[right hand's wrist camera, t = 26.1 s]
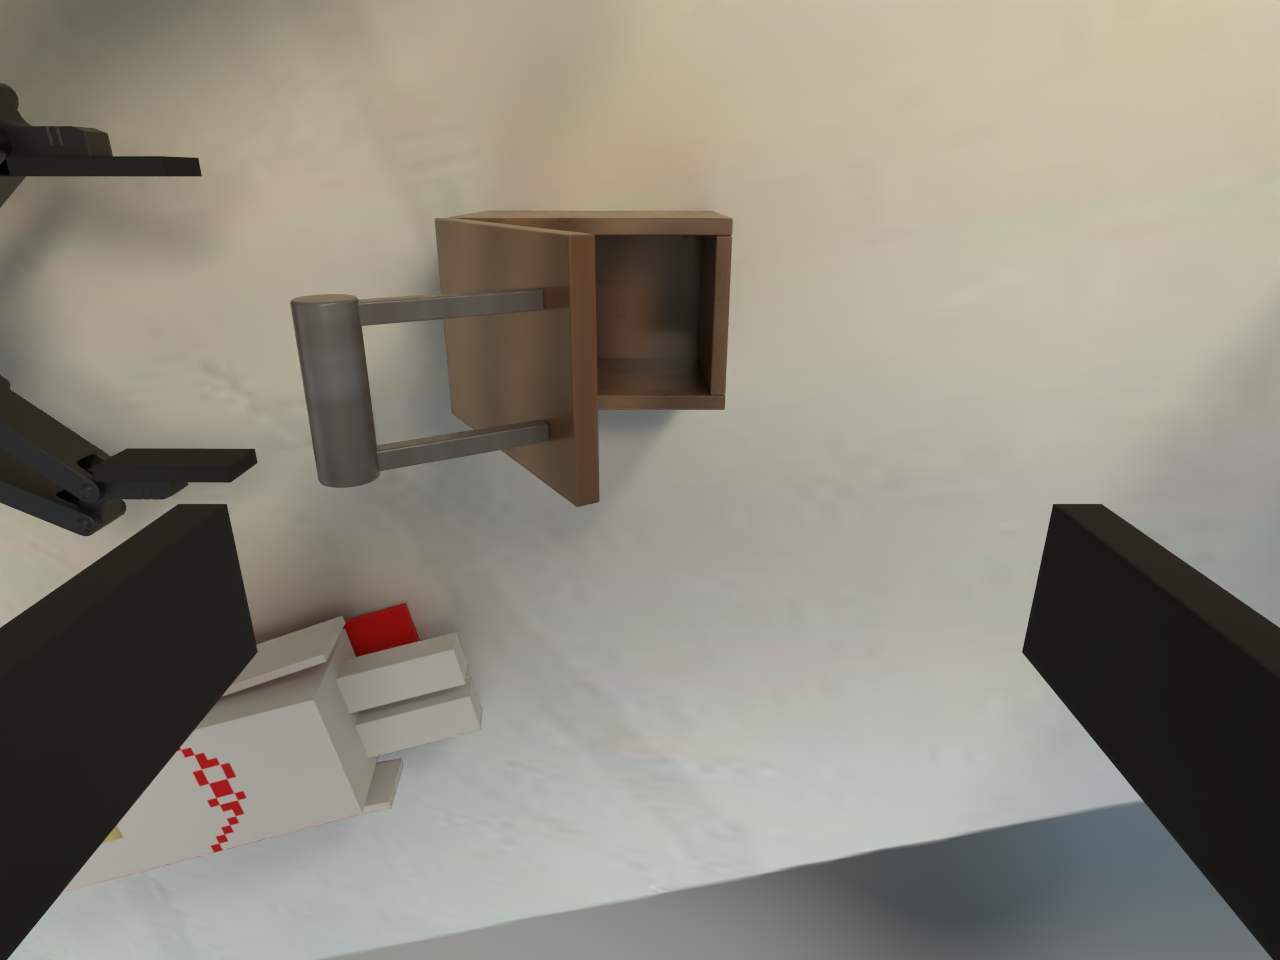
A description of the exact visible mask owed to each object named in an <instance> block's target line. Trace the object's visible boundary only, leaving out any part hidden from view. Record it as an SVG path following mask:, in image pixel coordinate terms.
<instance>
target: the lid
mask: <svg viewBox="0 0 1280 960" xmlns="http://www.w3.org/2000/svg"><path fill="white" fill-rule="evenodd" d="M435 228H436V239H437V250H438V261H439V272H440V284H441V294H435V295H420V296H406V297H391V298H377V299H362V300H358V299H357V297H355V296H352V295H342V294H326V295H311V296H303V297H298V298H295V299H293V300H291V302H290V304H291V310H292V317H293V323H294V329H295V336H296V342H297V348H298V354H299V361H300V367H301V373H302V379H303V386H304V392H305V398H306V404H307V411H308V417H309V423H310V430H311V436H312V442H313V448H314V455H315V461H316V467H317V473H318V480H319V481H320V483H321V484H323V485H325V486H329V487H339V488H343V487H354V486H359V485H363V484H366V483H369V482H372V481H374V480H375V479H377V478H378V477H379V475H380V471H383V470H389V469H394V468H400V467H406V466H411V465H417V464H423V463H428V462H434V461H440V460H446V459H451V458H457V457H463V456H468V455H474V454H480V453H486V452H491V451H497V450H502V451H503V452H504V453H506V454H507V455H508V456H510V457H511V458H512V459H514V460H515V461H516V462H518V463H519V464H520V465H522V466H523V467H524V468H526V469H527V470H528V471H530V472H531V473H532V474H534V475H535V476H536V477H538V478H539V479H540V480H542V481H543V482H544V483H546V484H547V485H548V486H550V487H551V488H552V489H554V490H555V491H556V492H558V493H559V494H560V495H562V496H563V497H564V498H566V499H567V500H568V501H570V502H571V503H572V504H574V505H575V506H576V507H579V506H583V505H588V504H592V503H597V502H599V453H598V400H597V346H596V292H595V238H594V235H593V234H588V233H579V232H571V231H562V230H553V229H545V228H536V227H527V226H518V225H510V224H501V223H492V222H484V221H475V220H466V219H458V218H436V219H435ZM436 319H444V328H445V340H446V351H447V362H448V373H449V384H450V395H451V407H452V414H453V415H455V416H456V417H457V418H459V419H460V420H461V421H463V422H464V423H465V424H467V425H468V426H469V427H471V428H472V429H473V430H471V431H465V432H459V433H452V434H446V435H440V436H434V437H427V438H421V439H415V440H408V441H402V442H396V443H390V444H383V445H377V443H376V435H375V428H374V420H373V412H372V404H371V396H370V388H369V381H368V373H367V365H366V357H365V349H364V342H363V334H362V326H365V325H377V324H388V323H400V322H412V321H424V320H436Z"/></svg>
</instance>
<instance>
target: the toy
mask: <svg viewBox="0 0 1280 960" xmlns="http://www.w3.org/2000/svg"><path fill="white" fill-rule="evenodd" d="M256 646H257V651H258V653H257V654H256V655H255V656H254V657H253V659H252V660H251V661H250V662H249V664H248V665H247V666H246V667H245V668H244V670H243V671H242V672H241V673H240V675H239V676H238V677H237V678H236V680H235V681H234V682H233V683H232V684H231V686H230V687H229V688H228V689H227V691H226V692H225V693H224V694H223V695H222V697H221V698H220V699H219V700H218V702H217V703H216V704H215V705H214V706H213V708H212V709H211V710H210V711H209V713H208V714H207V715H206V716H205V718H204V719H203V720H202V721H201V722H200V724H199V725H198V726H197V727H196V729H195V730H194V731H193V732H192V733H191V735H190V736H189V737H188V738H187V740H186V741H185V742H184V743H183V744H182V746H181V747H180V748H179V749H178V751H177V752H176V753H175V754H174V756H173V757H172V758H171V759H170V760H169V762H168V763H167V764H166V765H165V767H164V768H163V769H162V770H161V771H160V773H159V774H158V775H157V776H156V778H155V779H154V780H153V781H152V782H151V784H150V785H149V786H148V787H147V789H146V790H145V791H144V792H143V794H142V795H141V796H140V797H139V798H138V800H137V801H136V802H135V803H134V805H133V806H132V807H131V808H130V809H129V811H128V812H127V813H126V814H125V816H124V817H123V818H122V819H121V820H120V822H119V823H118V824H117V825H116V827H115V828H114V829H113V830H112V832H111V833H110V834H109V835H108V836H107V838H106V839H105V840H104V841H103V843H102V844H101V845H100V846H99V847H98V849H97V850H96V851H95V852H94V854H93V855H92V856H91V857H90V858H89V860H88V861H87V862H86V863H85V865H84V866H83V867H82V868H81V870H80V871H79V872H78V873H77V874H76V876H75V877H74V878H73V879H72V881H71V882H70V883H69V884H68V885H67V887H66V888H65V889H64V890H63V892H65V891H69V890H73V889H77V888H81V887H84V886H88V885H92V884H96V883H100V882H103V881H107V880H111V879H115V878H119V877H122V876H126V875H130V874H134V873H138V872H141V871H145V870H149V869H153V868H157V867H160V866H164V865H168V864H172V863H176V862H179V861H183V860H187V859H191V858H195V857H198V856H202V855H206V854H210V853H214V852H217V851H221V850H225V849H229V848H233V847H236V846H240V845H244V844H248V843H252V842H255V841H259V840H263V839H267V838H271V837H274V836H278V835H282V834H286V833H290V832H293V831H297V830H301V829H305V828H309V827H312V826H316V825H320V824H324V823H328V822H331V821H335V820H339V819H343V818H347V817H350V816H354V815H358V814H364V813H369V812H375V811H381V810H386V809H391V808H392V804H393V800H394V797H395V793H396V790H397V786H398V783H399V779H400V775H401V772H402V768H403V761H402V758H401V759H395V760H389V761H383V762H378V763H376V762H377V759H378V756H380V755H384V754H387V753H391V752H395V751H399V750H403V749H407V748H411V747H414V746H418V745H422V744H426V743H430V742H434V741H438V740H441V739H445V738H449V737H453V736H457V735H461V734H465V733H469V732H472V731H476V730H480V729H481V720H482V707H481V704H480V701H479V698H478V695H477V692H476V689H475V686H474V683H473V680H472V678H468V679H466V674H467V667H468V665H467V662H466V659H465V656H464V653H463V650H462V647H461V644H460V641H459V638H458V636H457V633H456V632H454V633H450V634H446V635H442V636H438V637H434V638H430V639H426V640H422V641H420V640H419V637H418V635H417V632H416V629H415V627H414V624H413V622H412V619H411V616H410V614H409V611H408V609H407V606H406V603H405V604H402V605H398V606H395V607H391V608H387V609H384V610H380V611H377V612H373V613H370V614H366V615H363V616H359V617H356V618H352V619H349V620H344V619H343V617H342V616H340V617H337V618H334V619H331V620H328V621H325V622H322V623H319V624H316V625H313V626H310V627H307V628H304V629H301V630H298V631H295V632H292V633H289V634H286V635H283V636H280V637H277V638H275V639H272V640H269V641H266V642H263V643H260V644H257V645H256Z"/></svg>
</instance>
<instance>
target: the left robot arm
mask: <svg viewBox="0 0 1280 960" xmlns="http://www.w3.org/2000/svg"><path fill="white" fill-rule="evenodd" d="M18 105H19V102H18V97H17V95H16V93H15V92H14V91H13V89H12V88H11V87H9V86H7V85H5V84H1V83H0V207H1V206H2V205H3V204H4V203H5V201H6V200H7V199H8V198H9V196H10V195H11V194H12V193H13V192H14V190H15V189H16V188H17V187H18V185H19V184H20V183H21V182H22V181H23V179H24V178H25V177H26V176H202V175H201V170H200V165H199V160H198V158H186V157H164V156H113V155H112V150H111V146H110V142H109V138H108V134H107V133H105V132H102V131H100V130H97V129H95V128H84V127H73V126H59V127H57V126H49V127H48V126H31V125H29V124H28V123H27V122H26V121H25V120H24V119H23V118H22V117H21V115H20V114H19V112H18V110H17V109H18ZM255 464H257V458H256V453H255V449H125V450H123V451H122V452H120V453H118V454H116V455H114V456H112V457H111V456H109V455H108V454H106V453H105V452H103V451H102V450H100V449H99V448H97V447H96V446H94V445H93V444H91V443H90V442H88V441H87V440H85V439H84V438H82V437H81V436H79V435H78V434H76V433H75V432H73V431H72V430H70V429H69V428H67V427H66V426H64V425H63V424H61V423H60V422H58V421H57V420H55V419H54V418H52V417H51V416H49V415H48V414H46V413H45V412H43V411H42V410H40V409H39V408H37V407H36V406H34V405H33V404H31V403H30V402H28V401H26V400H25V399H23V398H22V397H20V396H19V395H17V394H16V393H14V392H13V391H12V390H11V389H10V383H9V381H8V380H6V379H5V378H4V377H2V376H1V375H0V503H3V504H5V505H8V506H10V507H13V508H15V509H18V510H20V511H22V512H25V513H27V514H30V515H32V516H35V517H37V518H40V519H42V520H45V521H47V522H50V523H52V524H55V525H57V526H59V527H62V528H64V529H67V530H69V531H72V532H74V533H77V534H79V535H83V536H90V535H92V534H93V533H95V532H96V531H98V530H100V529H101V528H103V527H104V526H106V525H108V524H109V523H111V522H112V521H114V520H115V519H117V518H118V517H120V516H121V515H123V514H124V513H125V511H126V505H125V502H124V501H123V500H122V499H165V498H167V497H170V496H172V495H174V494H175V493H177V492H178V491H180V490H181V489H183V488H184V487H186V486H187V485H188V482H232V481H233V480H235V479H236V478H237V477H239V476H240V475H241V474H243V473H244V472H246V471H247V470H248V469H250V468H251V467H252V466H254V465H255Z"/></svg>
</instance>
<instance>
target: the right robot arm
mask: <svg viewBox="0 0 1280 960" xmlns="http://www.w3.org/2000/svg"><path fill="white" fill-rule="evenodd" d="M257 653H258V651H257V646H256V641H255V636H254V632H253V627H252V622H251V617H250V613H249V608H248V603H247V598H246V594H245V589H244V584H243V579H242V575H241V570H240V565H239V560H238V556H237V551H236V546H235V541H234V537H233V532H232V527H231V522H230V518H229V513H228V508H227V504H178V505H177V506H175V507H174V508H172V509H171V510H169V511H168V512H166V513H165V514H164V515H162V516H161V517H159V518H158V519H156V520H155V521H154V522H152V523H151V524H149V525H148V526H146V527H145V528H143V529H142V530H141V531H139V532H138V533H136V534H135V535H133V536H132V537H131V538H129V539H128V540H126V541H125V542H123V543H122V544H120V545H119V546H118V547H116V548H115V549H113V550H112V551H110V552H109V553H107V554H106V555H105V556H103V557H102V558H100V559H99V560H97V561H96V562H95V563H93V564H92V565H90V566H89V567H87V568H86V569H84V570H83V571H82V572H80V573H79V574H77V575H76V576H74V577H73V578H71V579H70V580H69V581H67V582H66V583H64V584H63V585H61V586H60V587H59V588H57V589H56V590H54V591H53V592H51V593H50V594H48V595H47V596H46V597H44V598H43V599H41V600H40V601H38V602H37V603H35V604H34V605H33V606H31V607H30V608H28V609H27V610H25V611H24V612H23V613H21V614H20V615H18V616H17V617H15V618H14V619H12V620H11V621H10V622H8V623H7V624H5V625H4V626H2V627H1V628H0V960H7V959H8V958H9V957H10V955H11V954H12V953H13V952H14V950H15V949H16V948H17V947H18V946H19V944H20V943H21V942H22V941H23V939H24V938H25V937H26V936H27V934H28V933H29V932H30V931H31V930H32V928H33V927H34V926H35V925H36V923H37V922H38V921H39V920H40V919H41V917H42V916H43V915H44V914H45V912H46V911H47V910H48V909H49V908H50V906H51V905H52V904H53V903H54V901H55V900H56V899H57V898H58V896H59V895H60V894H61V893H62V892H63V890H64V889H65V888H66V887H67V885H68V884H69V883H70V882H71V881H72V879H73V878H74V877H75V876H76V874H77V873H78V872H79V871H80V870H81V868H82V867H83V866H84V865H85V863H86V862H87V861H88V860H89V858H90V857H91V856H92V855H93V854H94V852H95V851H96V850H97V849H98V847H99V846H100V845H101V844H102V843H103V841H104V840H105V839H106V838H107V836H108V835H109V834H110V833H111V832H112V830H113V829H114V828H115V827H116V825H117V824H118V823H119V822H120V820H121V819H122V818H123V817H124V816H125V814H126V813H127V812H128V811H129V809H130V808H131V807H132V806H133V805H134V803H135V802H136V801H137V800H138V798H139V797H140V796H141V795H142V794H143V792H144V791H145V790H146V789H147V787H148V786H149V785H150V784H151V782H152V781H153V780H154V779H155V778H156V776H157V775H158V774H159V773H160V771H161V770H162V769H163V768H164V767H165V765H166V764H167V763H168V762H169V760H170V759H171V758H172V757H173V756H174V754H175V753H176V752H177V751H178V749H179V748H180V747H181V746H182V744H183V743H184V742H185V741H186V740H187V738H188V737H189V736H190V735H191V733H192V732H193V731H194V730H195V729H196V727H197V726H198V725H199V724H200V722H201V721H202V720H203V719H204V718H205V716H206V715H207V714H208V713H209V711H210V710H211V709H212V708H213V706H214V705H215V704H216V703H217V702H218V700H219V699H220V698H221V697H222V695H223V694H224V693H225V692H226V691H227V689H228V688H229V687H230V686H231V684H232V683H233V682H234V681H235V680H236V678H237V677H238V676H239V675H240V673H241V672H242V671H243V670H244V668H245V667H246V666H247V665H248V664H249V662H250V661H251V660H252V659H253V657H254V656H255V655H256V654H257ZM1022 653H1023V654H1024V655H1025V656H1026V657H1027V659H1028V660H1029V661H1030V662H1031V664H1032V665H1033V666H1034V667H1035V668H1036V670H1037V671H1038V672H1039V673H1040V675H1041V676H1042V677H1043V678H1044V680H1045V681H1046V682H1047V683H1048V684H1049V686H1050V687H1051V688H1052V689H1053V691H1054V692H1055V693H1056V694H1057V695H1058V697H1059V698H1060V699H1061V700H1062V702H1063V703H1064V704H1065V705H1066V706H1067V708H1068V709H1069V710H1070V711H1071V713H1072V714H1073V715H1074V716H1075V718H1076V719H1077V720H1078V721H1079V722H1080V724H1081V725H1082V726H1083V727H1084V729H1085V730H1086V731H1087V732H1088V733H1089V735H1090V736H1091V737H1092V738H1093V740H1094V741H1095V742H1096V743H1097V744H1098V746H1099V747H1100V748H1101V749H1102V751H1103V752H1104V753H1105V754H1106V756H1107V757H1108V758H1109V759H1110V760H1111V762H1112V763H1113V764H1114V765H1115V767H1116V768H1117V769H1118V770H1119V771H1120V773H1121V774H1122V775H1123V776H1124V778H1125V779H1126V780H1127V781H1128V782H1129V784H1130V785H1131V786H1132V787H1133V789H1134V790H1135V791H1136V792H1137V794H1138V795H1139V796H1140V797H1141V798H1142V800H1143V801H1144V802H1145V803H1146V805H1147V806H1148V807H1149V808H1150V809H1151V811H1152V812H1153V813H1154V814H1155V816H1156V817H1157V818H1158V819H1159V820H1160V822H1161V823H1162V824H1163V825H1164V827H1165V828H1166V829H1167V830H1168V832H1169V833H1170V834H1171V835H1172V836H1173V838H1174V839H1175V840H1176V841H1177V842H1178V844H1179V845H1180V846H1181V847H1182V849H1183V850H1184V851H1185V852H1186V854H1187V855H1188V856H1189V857H1190V858H1191V860H1192V861H1193V862H1194V863H1195V865H1196V866H1197V867H1198V868H1199V870H1200V871H1201V872H1202V873H1203V874H1204V876H1205V877H1206V878H1207V879H1208V881H1209V882H1210V883H1211V884H1212V885H1213V887H1214V888H1215V889H1216V890H1217V892H1218V893H1219V894H1220V895H1221V896H1222V898H1223V899H1224V900H1225V901H1226V903H1227V904H1228V905H1229V906H1230V907H1231V909H1232V910H1233V911H1234V912H1235V914H1236V915H1237V916H1238V917H1239V919H1240V920H1241V921H1242V922H1243V923H1244V925H1245V926H1246V927H1247V928H1248V930H1249V931H1250V932H1251V933H1252V934H1253V936H1254V937H1255V938H1256V939H1257V941H1258V942H1259V943H1260V944H1261V946H1262V947H1263V948H1264V949H1265V950H1266V952H1267V953H1268V954H1269V955H1270V957H1271V958H1272V959H1273V960H1280V628H1279V627H1278V626H1276V625H1275V624H1273V623H1272V622H1270V621H1269V620H1268V619H1266V618H1265V617H1263V616H1262V615H1260V614H1259V613H1257V612H1256V611H1255V610H1253V609H1252V608H1250V607H1249V606H1247V605H1246V604H1245V603H1243V602H1242V601H1240V600H1239V599H1237V598H1236V597H1234V596H1233V595H1232V594H1230V593H1229V592H1227V591H1226V590H1224V589H1223V588H1221V587H1220V586H1219V585H1217V584H1216V583H1214V582H1213V581H1211V580H1210V579H1209V578H1207V577H1206V576H1204V575H1203V574H1201V573H1200V572H1198V571H1197V570H1196V569H1194V568H1193V567H1191V566H1190V565H1188V564H1187V563H1185V562H1184V561H1183V560H1181V559H1180V558H1178V557H1177V556H1175V555H1174V554H1173V553H1171V552H1170V551H1168V550H1167V549H1165V548H1164V547H1162V546H1161V545H1160V544H1158V543H1157V542H1155V541H1154V540H1152V539H1151V538H1149V537H1148V536H1147V535H1145V534H1144V533H1142V532H1141V531H1139V530H1138V529H1137V528H1135V527H1134V526H1132V525H1131V524H1129V523H1128V522H1126V521H1125V520H1124V519H1122V518H1121V517H1119V516H1118V515H1116V514H1115V513H1114V512H1112V511H1111V510H1109V509H1108V508H1106V507H1105V506H1103V505H1102V504H1053V508H1052V513H1051V518H1050V522H1049V527H1048V532H1047V537H1046V541H1045V546H1044V551H1043V556H1042V560H1041V565H1040V570H1039V575H1038V579H1037V584H1036V589H1035V594H1034V598H1033V603H1032V608H1031V613H1030V617H1029V622H1028V627H1027V632H1026V636H1025V641H1024V646H1023V651H1022Z"/></svg>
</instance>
